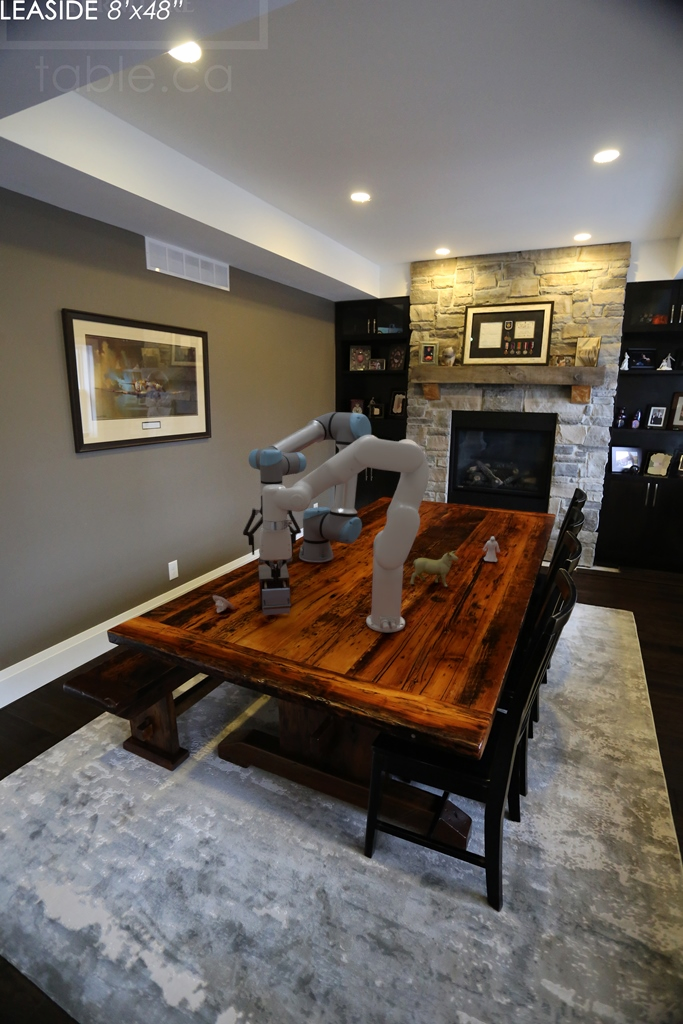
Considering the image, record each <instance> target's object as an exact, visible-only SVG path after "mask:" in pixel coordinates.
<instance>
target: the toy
mask: <svg viewBox="0 0 683 1024" xmlns="http://www.w3.org/2000/svg"><path fill="white" fill-rule="evenodd" d="M457 552H458V550H452V551H450V552H446V553H444V555H443V556H442V557H441V558H440V559H431V558H427V557H418V558H417V559H416V558H415V559H414V560H413V568H414V572H412V574H411V578H410V581H409V584H410V585H411V586H415V584H416V583H415V582H414V581H415V578H416V577H417V576H418V577H420V579H421V580H422V582H426V578H425V576H424V575H423V574H426V575H428V576H435V578H434V583H435V584H439V581H438V580H439V578H441V581H442V585H443V587H444V588H446V589H447V588H449V585H448V584H447V582H446V580H447V579H446V577H447V575H448V574H449V572H450V570H451V567H452V563H453V561H454V562H458V561H459V557H458V556H457V555H455V554H456V553H457Z"/></svg>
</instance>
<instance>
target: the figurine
mask: <svg viewBox="0 0 683 1024" xmlns="http://www.w3.org/2000/svg"><path fill="white" fill-rule="evenodd" d="M482 551H483V552H486V554H485V556H484V557H483V560H484V561H485V562H495V563H498V558H497V554H496V553H498V554H499V553H501V550H500V547H499V543H498V541H497V540H496V538H495V536H493V535H492V536H490V539H489V540H487V542H486V543H485V544H484V546H483V548H482Z"/></svg>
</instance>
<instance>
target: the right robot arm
mask: <svg viewBox="0 0 683 1024" xmlns="http://www.w3.org/2000/svg"><path fill="white" fill-rule="evenodd" d="M367 468H370V469H375V470H382V471H389V472H390V471H391V472H397V473H400V477H399V480H398V483H397V487H396V490H395V491H394V494H393V495H392V499H391V502H390V504H389V505H388V508H387V510H386V522H385V526H384V527H383V529H382V530H380V531H379V532H378V533H377V534H376V535H375V536H374V537H375V538H374V539H373V544H372V545H373V546H372V585H371V586H372V587H371V607H370V609H371V613H370V615H368V616H367V617H366V621H365V622H366V623H365V624H366V625H367V627H368V628H369V629H372V630H373V631H376V632H379V633H396V632H398V631H402V630H403V629H404V628H405V626H406V620H405V618H403V617H402V615H401V614H402V599H403V598H402V597H403V580H404V564H405V562H406V560H407V559H408V557H409V554H410V552H411V550H412V547H413V544H414V542H415V540H416V537H417V535H418V533H419V530H420V526H421V516H420V513H419V510H420V507H421V504H422V501H423V500H424V496H425V493H426V491H427V488H428V484H429V481H430V467H429V462H428V458H427V456H426V453H425V452H424V451H423V449H422V448H421V447H420V445H419V444H418V443H417V442H415V441H414V440H412V439H410V438H405V439H401V440H399V441H396V440H395V441H394V440H389V439H381V438H378V437H377V436H375V435H373V434H371V435H364V436H362V437H360V438H359V439H357V440H356V441H354V442H353V443H352V444H350V445H349V446H347V447H346V448H345V449H343V450H342V451H340V452H339V451H338V452H337V453H336V454H334V455H333V456H331V457H329V459H328V460H326V461H324V462H323V463H322V464H321V465H319V466H318V467H316V468H315V469H314V470H312V471H311V472H309V473H308V474H306V475H305V476H304V477H302V478H301V479H299V480H297V481H296V482H295V483H294V484H293V485H292V486H291V487H286V486H285V485H284V484H282V485H278V484H272V485H266V486H265V487H264V488H263V490H262V494H261V495H262V499H263V523H262V527H260V531H259V538H258V552H259V553H258V554H259V556H258V563H259V564H262V565H268V566H269V567H270V568H271V578H273V580H274V581H275V580H277V581H279V577H281V568H282V566H283V565H284V564H287V563H291V562H293V556H292V555H293V553H292V546H291V535H290V534H291V532H290V529H289V527H287V526H288V525H292V524H293V522H292V520H291V519H288V514H287V510H290V511H292V512H297V513H298V512H299V513H300V512H304V511H305V510H307V509H309V507H310V505H311V502H312V501H313V500H314V499H316V498H317V497H318V496H319V495H321V494H322V493H324V492H326V491H328V490H329V489H331V488H332V487H336V485H340V484H343V483H345V482H346V481H348V480H349V479H351V478H352V477H353V476H355V475H356V474H359V473H361V472H362V471H363V470H365V469H367ZM274 561H277V563H276V564H277V565H276V568H275V565H274Z"/></svg>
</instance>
